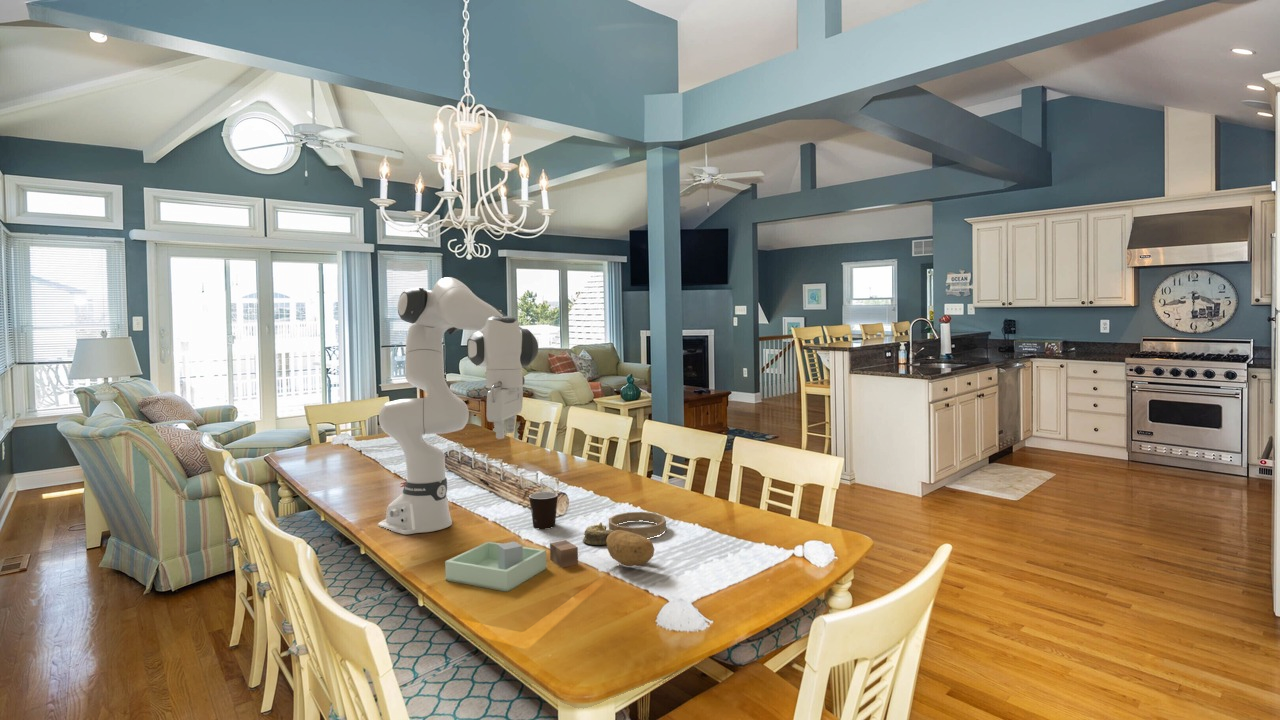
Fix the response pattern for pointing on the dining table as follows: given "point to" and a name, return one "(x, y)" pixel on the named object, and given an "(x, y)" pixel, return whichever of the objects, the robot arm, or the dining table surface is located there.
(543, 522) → the coffee mug
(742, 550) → the dining table surface
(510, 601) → the dining table surface
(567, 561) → the walnut block
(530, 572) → the serving tray
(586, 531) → the cake
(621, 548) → the potato
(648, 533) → the ring
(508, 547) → the grey block
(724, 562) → the dining table surface
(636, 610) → the dining table surface
